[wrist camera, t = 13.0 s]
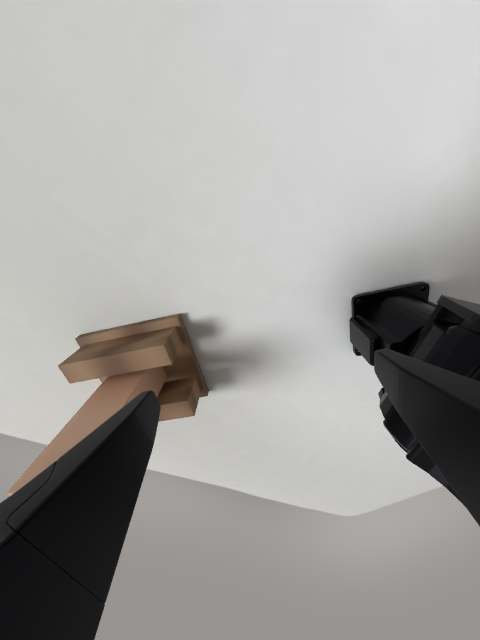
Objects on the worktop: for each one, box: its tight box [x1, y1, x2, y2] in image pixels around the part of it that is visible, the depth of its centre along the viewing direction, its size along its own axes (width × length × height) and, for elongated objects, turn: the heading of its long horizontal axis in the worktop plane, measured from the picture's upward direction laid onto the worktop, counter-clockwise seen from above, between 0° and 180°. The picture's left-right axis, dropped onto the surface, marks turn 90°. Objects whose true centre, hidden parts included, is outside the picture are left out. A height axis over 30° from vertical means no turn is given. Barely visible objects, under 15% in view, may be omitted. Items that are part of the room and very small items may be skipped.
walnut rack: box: [58, 314, 209, 421], centre depth 23 cm, size 11×10×4 cm
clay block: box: [7, 366, 167, 496], centre depth 18 cm, size 4×3×12 cm
